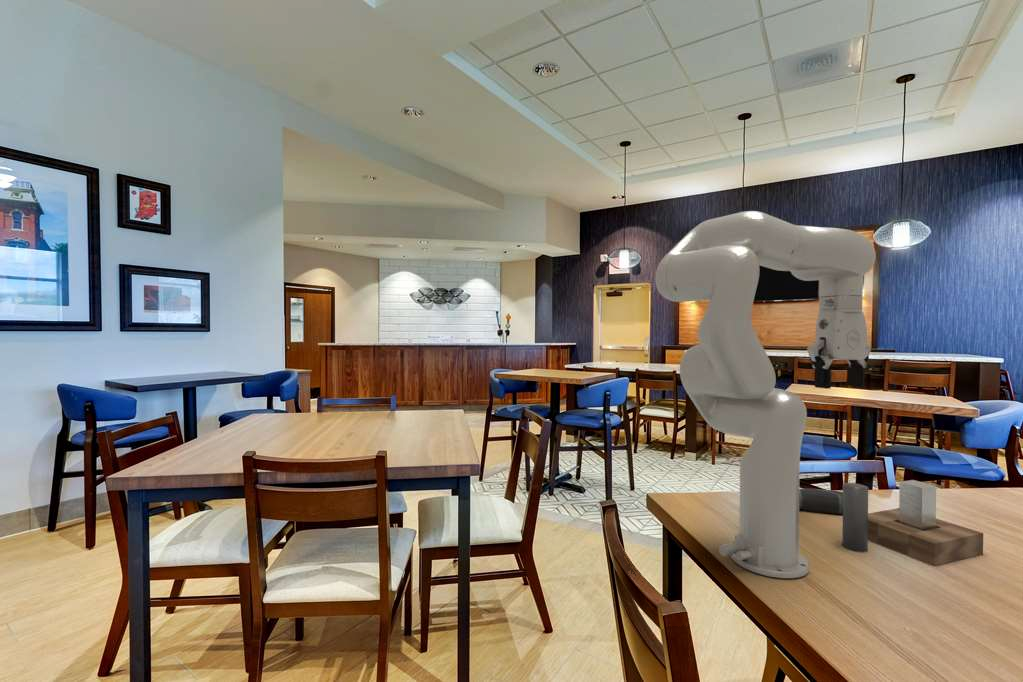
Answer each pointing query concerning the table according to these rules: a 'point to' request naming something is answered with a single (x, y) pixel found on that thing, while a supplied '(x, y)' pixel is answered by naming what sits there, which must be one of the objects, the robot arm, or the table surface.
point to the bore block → (924, 538)
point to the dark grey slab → (821, 500)
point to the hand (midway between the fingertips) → (839, 387)
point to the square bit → (917, 505)
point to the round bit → (855, 517)
